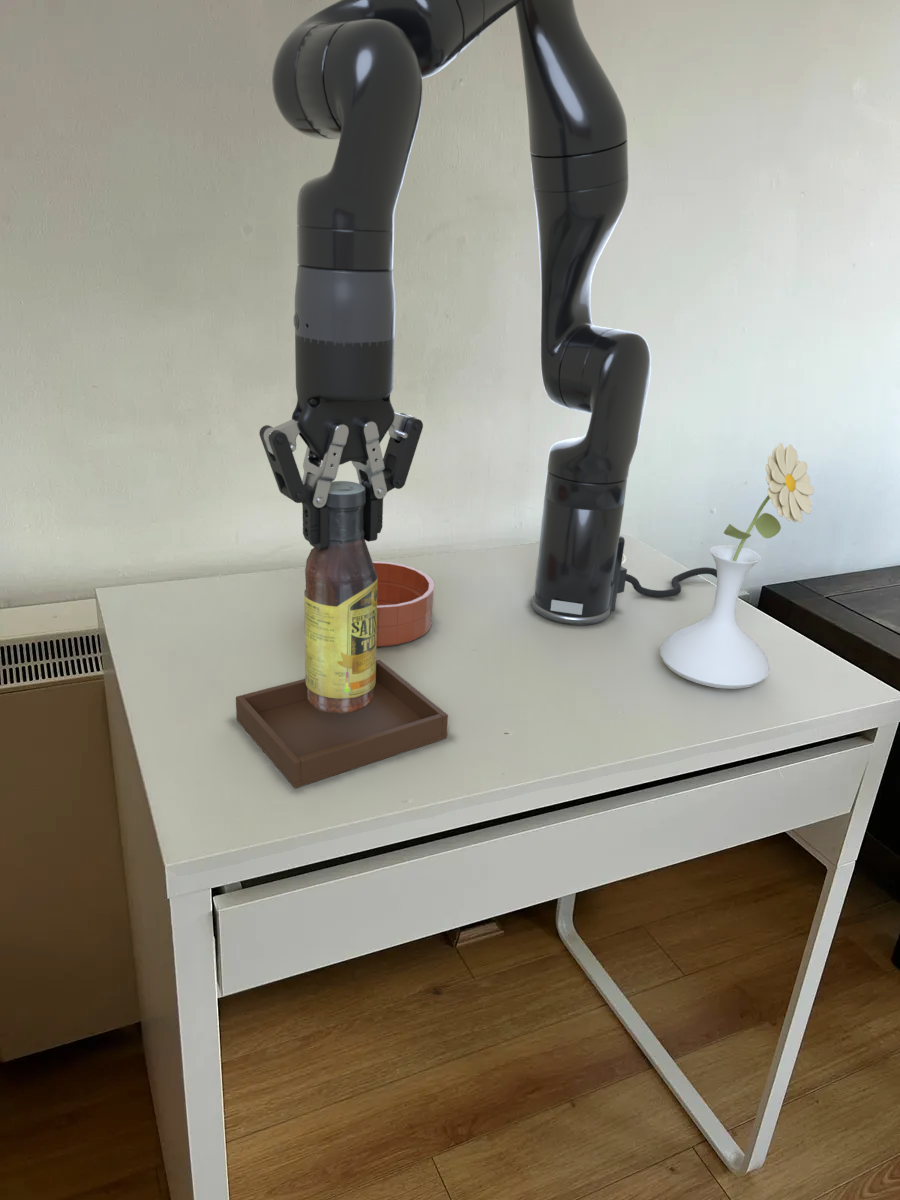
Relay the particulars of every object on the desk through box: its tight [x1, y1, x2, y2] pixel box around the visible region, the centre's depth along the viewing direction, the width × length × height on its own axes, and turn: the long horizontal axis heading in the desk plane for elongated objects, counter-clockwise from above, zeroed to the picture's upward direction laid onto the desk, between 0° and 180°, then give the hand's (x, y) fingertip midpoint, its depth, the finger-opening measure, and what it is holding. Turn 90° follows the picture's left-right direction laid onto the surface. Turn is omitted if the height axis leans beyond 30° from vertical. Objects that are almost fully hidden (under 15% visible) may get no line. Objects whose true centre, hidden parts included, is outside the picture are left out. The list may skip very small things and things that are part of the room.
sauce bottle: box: [303, 480, 378, 714], centre depth 77 cm, size 6×6×20 cm
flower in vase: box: [659, 442, 815, 690], centre depth 92 cm, size 13×11×25 cm
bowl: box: [372, 560, 435, 648], centre depth 102 cm, size 13×13×5 cm
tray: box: [235, 659, 449, 789], centre depth 82 cm, size 15×12×2 cm
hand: (343, 541), depth 75 cm, fingers closed on sauce bottle, 4 cm apart
